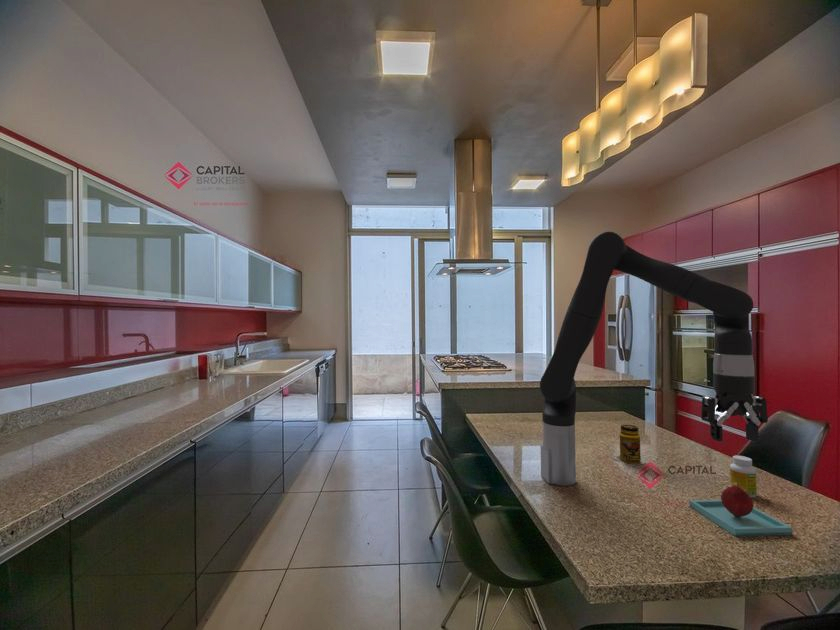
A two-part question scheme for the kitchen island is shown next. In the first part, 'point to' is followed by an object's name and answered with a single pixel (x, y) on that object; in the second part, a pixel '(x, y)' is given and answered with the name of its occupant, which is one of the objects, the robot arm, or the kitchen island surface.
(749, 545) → the kitchen island surface
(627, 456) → the condiment
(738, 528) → the tray
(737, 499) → the dark red rounded piece
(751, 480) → the supplement bottle
